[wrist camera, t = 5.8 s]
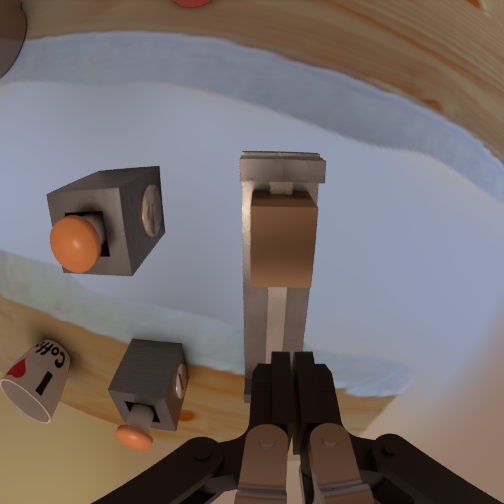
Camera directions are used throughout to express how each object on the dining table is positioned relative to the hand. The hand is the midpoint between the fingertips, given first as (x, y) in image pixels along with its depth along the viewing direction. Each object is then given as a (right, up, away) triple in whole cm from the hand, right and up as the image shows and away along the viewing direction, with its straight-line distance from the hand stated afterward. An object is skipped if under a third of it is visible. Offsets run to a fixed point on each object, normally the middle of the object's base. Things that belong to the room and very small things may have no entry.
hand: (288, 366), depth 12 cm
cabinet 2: (-12, -8, +21) cm, 26 cm away
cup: (-29, -10, +23) cm, 38 cm away
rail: (+1, +1, +17) cm, 17 cm away
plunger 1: (-12, +7, +8) cm, 16 cm away
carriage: (+1, +7, +13) cm, 15 cm away
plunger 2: (-12, -11, +15) cm, 22 cm away
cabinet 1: (-12, +9, +14) cm, 20 cm away
